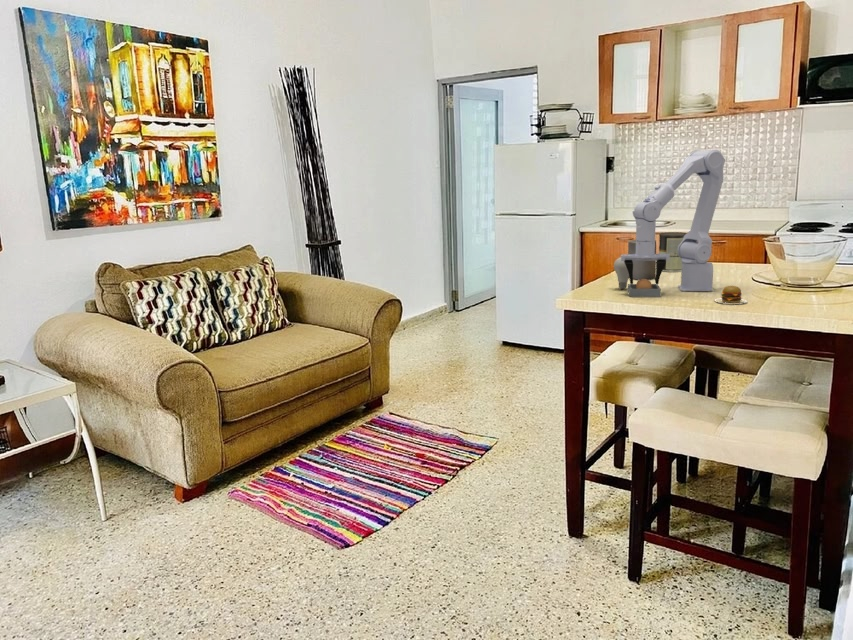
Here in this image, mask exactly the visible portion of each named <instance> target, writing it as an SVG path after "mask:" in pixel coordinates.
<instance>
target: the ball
mask: <svg viewBox="0 0 853 640" xmlns="http://www.w3.org/2000/svg"><path fill="white" fill-rule="evenodd" d="M635 284H636V289H651V288H652V284H653V283H652V282H651V281H650V280H647V279H641V280H637V282H636V283H635Z"/></svg>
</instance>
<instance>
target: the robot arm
mask: <svg viewBox="0 0 853 640" xmlns="http://www.w3.org/2000/svg"><path fill="white" fill-rule="evenodd" d="M682 163H683V164H681V165H680V166H679V168H678V169H677V170H676V171H675V172H674V174H673V175H672V176H671V177H670V179H668V181H666V183H660V184H657V185H656V186H654V190H653V191H652V192H650V194H649V195H648V196H646V197H644V201H641V202H638V203H637V204H636V205H635V207H634V209H633V211H632V216H633V218H634V219H635V224H636V227H635V228H636V229H635V230H636V231H635V240H636V254H628V253H627V254H620V257H621V261H624V263H625V265H626V267H627V270H628V273H629V277H630V279H629V282H630V283H629V284H634V279H633V262H632V261H656V275H655V278H654V279H655V280H654V281H655V283H654V284H658V285H659V283H660V282H659V281H660V278H661V275H662V272H663V271H662V270H663V268H664V267H665V265H666V261H669V259H670V255H669V254H659V253H656V254H655V240H656V223H657V221H656V220H657V219H659V217H660V215H661V211H662V210H663V209H664V207H665V206H666V205H668V203H669V202H670V201H671V200H672V199H673V198H675V191H676V190H677V189H679V187H680V186H681V185H682V184H684V183H685V182H686V181H687V180H688V179H689V178H690V177H691V176H692V175H694V174H696V176H698V177H699V178H700V179H701V181H702V183H703V184H702V187H701V191H700V194H699V197H698V202H697V205H696V207H695V213H694V216H693V220H692V223H691V226H690V230H689V231H688V232H686V233H687V234H686V235H685V236H684V237H683V240H682V242H681V243H680V245H679V246H678V255H679V257H680V258H681V261H682V272H680V273H681V275H680V285H677V288H678V289H679V290H680V291H681V292H713V290H714V289H713V286H714V285H713V283H714V281H713V280H714V264H713V262H710V261H709V260H710V258H711V256H712V252H713V251H712V249H713V248H712V244H713V239H712V238H711V236H710V235H709V232H710V228H711V225H712V221H713V217H714V214H715V211H716V207H717V204H718V201H719V197H720V195H721V194H720V193H721V189H722V186H723V182H724V165H725V163H726V158H725V157H724V155H723V154H722V152H721V151H720V150H718V149H710V150H694V151H692V152H691V153H689V155H688V156H687V157H686V158H684V162H682ZM639 258H643V259H639ZM647 258H651V259H647ZM708 261H709V262H708Z"/></svg>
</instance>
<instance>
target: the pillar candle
mask: <svg viewBox="0 0 853 640" xmlns="http://www.w3.org/2000/svg"><path fill="white" fill-rule="evenodd" d="M627 242H628V250H627V251H628V252H627V254H636V239H630V240H627ZM655 254H657V240H656V239H655ZM639 259H643V258H639ZM647 259H651V258H647ZM632 262H633V280H635V279H638V280H637V281H639V280H641V279H647V280H649V279H650V280H653V279H655V278H656V261H632ZM629 278H630V277H629V276H628V279H629ZM650 280H649V281H650Z"/></svg>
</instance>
